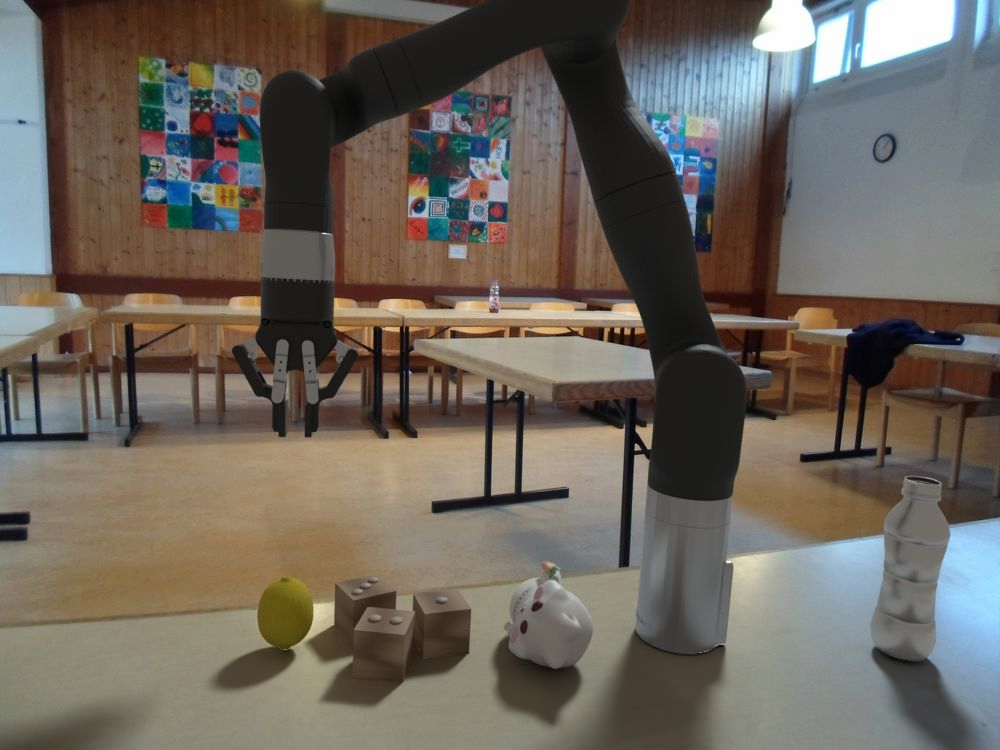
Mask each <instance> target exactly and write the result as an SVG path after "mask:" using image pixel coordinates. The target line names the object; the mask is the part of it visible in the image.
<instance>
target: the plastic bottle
mask: <svg viewBox="0 0 1000 750" xmlns="http://www.w3.org/2000/svg"><path fill="white" fill-rule="evenodd" d="M942 487H943V483H942V482H941V481H939V480H937V479H934V478H930V477H925V476H918V475H908V476H904V479H903V484H902V488H901V493H900V494H901V495H902V496H903V498H902V499H901V500H900V501H899V502H898V503H897V504H895V506H893V508H891V510H890V511H888V513H887V515H886V516H885V519H884V521H883V523H884V524H883V531H884V532H883V541H884V542H883V543H884V546H883V548H884V549H883V550H884V553H883V554H884V557H883V572H882V581H881V585H880V590H879V595H878V598H877V603H876V606H875V608H874V609H873V612H872V613H873V614H872V617H871V620H870V625H869V626H870V627H869V628H870V637H871V638H870V639H871V640H872V642H873V643H874V646H875V645H876V646H875V647H876V648H877V649H878V650H879V651H881V652H882V653H883V654H886V655H888V656H890V657H893V658H895V659H898V660H901V659H902V660H903V661H906V660H908V661H907V662H922V661H924V659H925V660H926V659H927V658H928V657H930V656H931V654H933V652H934V648H935V646H936V642H937V625H936V620H935V619H936V617H935V615H936V596H937V588H938V581H939V580H940V579H939V577H940V573H941V568H942V565H943V562H944V558H945V555H946V553H947V549H948V547H949V545H948V544H949V543H950V538H951V529H950V525H949V523H948V521H947V519H946V516H945V515H944V513H943V511H942V510H941V508H940V506H939V505H938V503H939V502H941V501H942V495H941V493H942ZM921 660H922V661H921Z"/></svg>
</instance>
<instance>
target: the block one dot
mask: <svg viewBox="0 0 1000 750" xmlns="http://www.w3.org/2000/svg"><path fill="white" fill-rule="evenodd" d="M412 611H415V634H414V645H415V646H416V648H417V651H418V653H419V654H420V657H421V658H422V660H427V659H435V658H441V657H449V656H457V655H464V654H470V641H471V625H472V624H471V621H472V608H471V606H470V605H469V603H468V601H467V600H466V599H465V597H464V596H463V594H462V593H461V592H460V590H459V589H458V588H453V589H444V590H443V589H442V590H432V591H424V592H417V593H416V592H414V593H413V596H412Z"/></svg>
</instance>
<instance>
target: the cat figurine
mask: <svg viewBox="0 0 1000 750" xmlns="http://www.w3.org/2000/svg"><path fill="white" fill-rule="evenodd" d="M540 567H541V569H542V570H543V571H542V575H541V577H542V578H541V577H533V578H529V579H527V580H524V581H523V582H522V583H520V584H519V585H518V586H517V587H516V588H515V590H514V592H513V593H512V594H511V595H512V596H511V598H510V602H509V614H510V619H511V622H512V623H511V622H510V621H509V620H507V622H505V623H504V625H503V629H504V631H506V633H507V634H508V637H509V639H508V640H509V641H508V648H509V650H510V652H511V653H512V654H513V655H514V656H515V657H517V658H519V659H523V660H530V661H532V662H533V663H535V664H537V665H539V666H543V667H548V668H552V669H553V670H554V669H555V670H557V669H560V668H567V667H571V666H573V665H575V664H576V663H578V662H579V661H580V660H581V659H582V658H583V656H584V655H585V653H586V651H587V650H588V648H589V645H590V643H591V639H592V637H593V633H594V623H593V620H592V618H591V615H590V614H589V613H590V612H588V610H587V608H586V607H585V605H584V603H583V602H582V601H581V600H580V599H579V598H578V597H577V596H576V595H575V594H574V593H572V592H570V591H569V590H566V589H565V588H564V587H563V586H562V576H561V573H563V571H562V568H561V566H560V567H559V566H557V565H556V564H555V563H553V562H550V561H541V563H540Z"/></svg>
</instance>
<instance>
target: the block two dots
mask: <svg viewBox="0 0 1000 750" xmlns="http://www.w3.org/2000/svg"><path fill="white" fill-rule="evenodd" d="M414 634H415V611H413V610H407V609H405V610H404V609H397V608H396V609H385V608H375V607H367V609H366V610H365V612H364V614H363V615H362V617H361V619H360V620H359V622H358V624H357V625H356V627H355V629H354V639H353V644H352V645H353V647H352V677H351V678H352V679H362V680H363V679H364V680H373V681H384V682H393V683H401V684H402V683H404V681H405V678H406V676H407V673H408V672H409V670H410V669H409V668H410V667H411V664H412V661H413V659H414V655H415V653H414V652H415V650H414V649H415V642H414Z"/></svg>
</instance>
